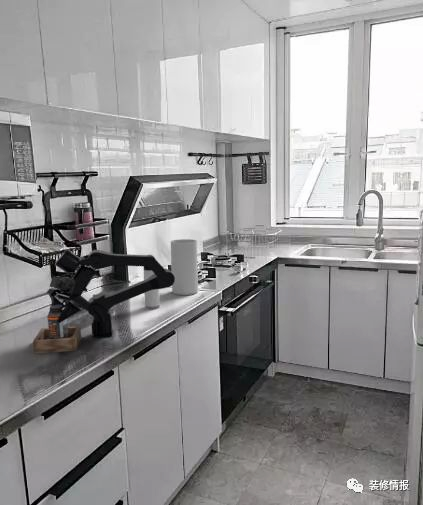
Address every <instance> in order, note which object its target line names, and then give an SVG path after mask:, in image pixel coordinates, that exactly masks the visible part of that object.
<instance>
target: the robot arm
mask: <svg viewBox="0 0 423 505" xmlns="http://www.w3.org/2000/svg"><path fill="white" fill-rule="evenodd" d="M54 266H56V268H59V270H62V271H63V272H65V274H67V275H69V274H74V273H75V274H74V275H73V276H72V278H67V277H63V279H59V278H55V277H51V280H50V284H49V288H48V290H47V291H46V294H47V295H48V296H49V298H50V300H51V304H50V306H53V305H62V308H63V309H62V310H63V311H62V313H61V314H60V316H59V318H58V320H57V322H58V323H61V322H62V321H64V320H65V319H67V320H68V318H70V317H72V316H74V315H76V314H78V313H79V312H82V311H86V312H88V314H89V315H91V316H92V317H93V318H92V322H91V335H92V337H93V338H106V337H112V336H113V334H114V329H113V317H112V316H113V315H111V309H112V308H113V307H114V306H116V305H118V304H121V303H122V302H123V303H124V302H126V301H128V300H131V299H133V298H136V297H138V296H140V295H143V294H144V293H146V292H148V291H150V290H156V289H159V290H163V289H167V288H170V287H171V288H172V285H173V284H174V282H175V277H174V275H173V274H172V272H171V270H170V269H169V268H164V266H162V265H161V263H159V261H158V259H157V258H155V256H154V255H152V254H129V253H126V254H123V253H113V252H109V251H106V250H102V249H101V250H100V249H93V250H92V251H90V253H88V254H86V255H83V256H80V257H79V256H78V255H76V254H75V253H73V252H72V251H71V250H70V249H68V248H66V250H65V251H64V252H63V253H62V254H61V255H60V256H59V257H58V259H57V260H56V262H55V263H54ZM113 266H116V267H117V266H119V267H121V266H122V267H143V266H147V267H149V268H150V269H151V270H152V271H153V272H154V274H153V275H152V276H150V277H149V278H148V279H146V280H144V279H143V280H142V281H139V282H137V283H134V284H131V285H128V286H126V287H124V288H122V289H119V290H116V291H114V292H112V293H105V291H104V290H102V291H100V292H99V293H96V294H93V295H92V296H91V297H90V298H89V299H88V300H87V299H86V298H85V297H83V295H82V294H83V293H87V292H88V291H89V290H88V288H87V287H88V286H89V284H90V283H91V281H92V279H93V278H96V279H100V278H101V272H100V269H105V268H110V267H113ZM96 269H97V270H96ZM49 313H50V309H49V312H48V314H49ZM47 319H48V317H47Z"/></svg>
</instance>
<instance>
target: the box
mask: <svg viewBox="0 0 423 505" xmlns="http://www.w3.org/2000/svg"><path fill="white" fill-rule="evenodd" d="M67 329H68V338H62V339H50V337H49V327H47V328H45V327H44V328H40V330H39V332H38V334H37V335H36V336H35V338H34V339H33V341H32V347H33V348H32V350H33V354H44V353H45V354H47V353H61V352H62V353H63V352H77V349H78V347H79V344H80V341H81V338H82V330H81V329H82V328H81V326H79V325H78V326H67Z"/></svg>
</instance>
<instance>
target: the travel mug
mask: <svg viewBox="0 0 423 505" xmlns="http://www.w3.org/2000/svg"><path fill="white" fill-rule="evenodd" d="M142 267H143V281H144V280H146V279H148V278H149V277H150V276H152V275H153V274H154V272H153V271H152V270H151V269H150V268H149V267H147V266H142ZM143 294H144V308H145V309H146V310H157V309H159V308H160V306H161V305H160V289H156V290H150V291H148V292H146V293H143Z"/></svg>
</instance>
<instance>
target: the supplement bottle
mask: <svg viewBox="0 0 423 505" xmlns="http://www.w3.org/2000/svg"><path fill="white" fill-rule="evenodd" d="M63 309H64V308H62V305H53V306H51V305H50V306H49V310H50V313H49V312H48V314H46V315H47V317H48V318H47V325H48V327H47V328H49V337H50V339H62V338H68V329H67V327H68V318H67V319H65V320H64V321H62V322H61V323H58V322H57V320H58V318H59V316H60V314H61V313H62V311H63Z"/></svg>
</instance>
